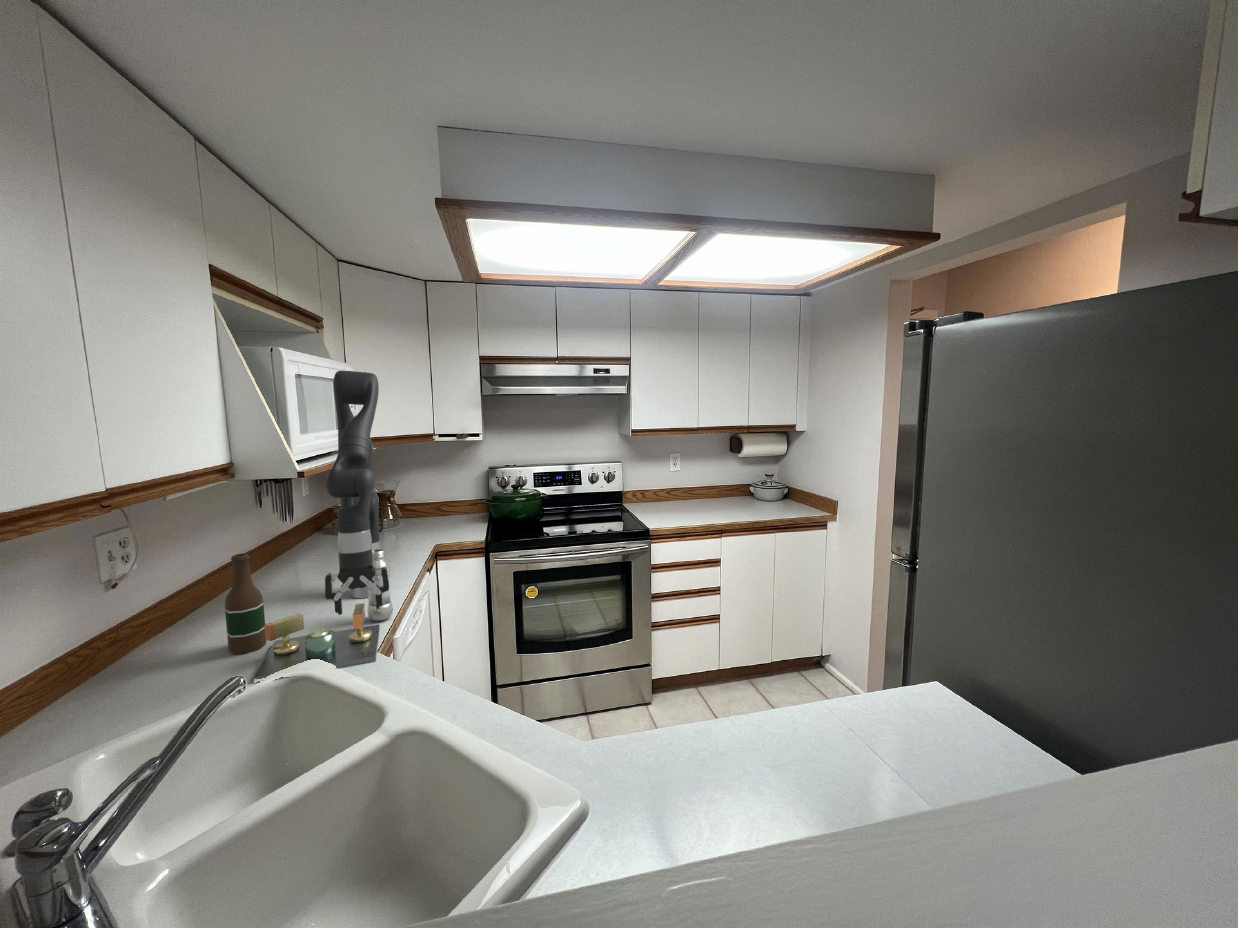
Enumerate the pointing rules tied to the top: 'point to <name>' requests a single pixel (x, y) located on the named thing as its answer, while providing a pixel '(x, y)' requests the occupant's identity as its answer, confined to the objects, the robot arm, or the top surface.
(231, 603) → the beer bottle
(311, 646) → the base plate
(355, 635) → the knob
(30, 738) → the top surface
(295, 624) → the knob
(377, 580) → the plastic bottle
